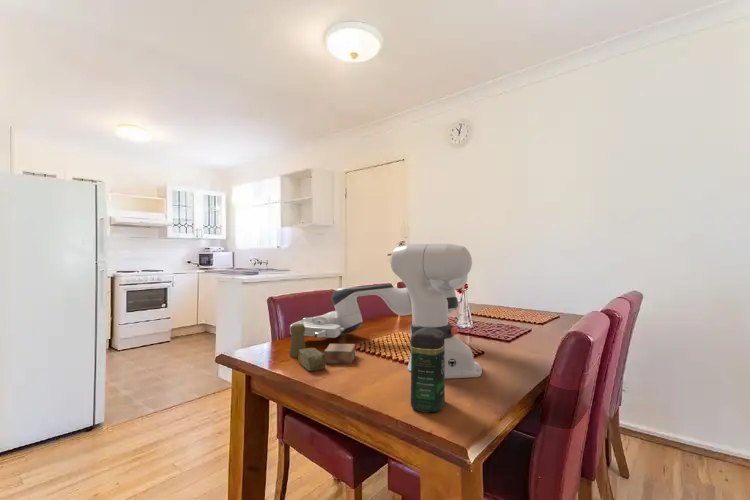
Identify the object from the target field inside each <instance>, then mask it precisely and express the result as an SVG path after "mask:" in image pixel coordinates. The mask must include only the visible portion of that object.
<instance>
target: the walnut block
mask: <svg viewBox="0 0 750 500" xmlns="http://www.w3.org/2000/svg"><path fill="white" fill-rule="evenodd" d="M323 354H324V356H325V364H343V365H345V364H350V365H351V364H352V363H353V361H354V359H355V357H356V343H329V344H328V346H327V347H326V348H325V349H324V351H323Z"/></svg>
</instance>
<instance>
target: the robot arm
mask: <svg viewBox="0 0 750 500" xmlns="http://www.w3.org/2000/svg"><path fill="white" fill-rule="evenodd" d="M389 264H390V267H391V270H392V272H393V273H394V274H395V276H397V277H398V278H399V279H400V280H401V281H402V282H403V283H404V285H405V287H403V288H402V287H401V288H399V287H394V286H393V285H392V284H390V283H383V284H372V285H371V284H370V285H364V286H356V287H354V286H353V287H350V286H345V287H344V286H343V287H339V288H337V289H335V290H333V293H332V295H331V298H330V299H331V302H332V305H333V306H334V309H335V310H332V311H329V312H327V313H324V314H322V315H316V316H309V317H308V316H307V317H303V318H302V320H298V321H296V322H293V323H291V324H290V325H289V328H290V327H291V326H292V325H293V324H303V325H304V326H305V332H304V337H305V336H306V337H314V338H315V339H327V338H328V339H329V338H330V339H335V338H337V337H339V336H341V334H342V335H344V334H345V335H346V334H349V333H352V332H354V331H357V330H358V329H360V327H361V326H362V325H363V322H364V321H363V316H362V314H361V313H362V312H361V310H360V306H359V304H358V299H357V298H358V297H363V296H373V295H375V296H377V297H380V298H381V299H382V300H383V301H384V303H385V304H386V305H387V307H388V308H389V309H390V310H391V311H392V312H393V313H394V314H396V315H398V316H408V315H412V316H411V321H412V322H411V323H410V336H411V335H412V334H413V333H414V332H416V331H417V330H419V329H422V328H423V327H433V328H439V329H440V330H441V331H442V332H443V333H444V341H445V380H446V379H463V378H466V379H467V378H479V377H481V376H482V374H483V370H482V366H481V364H479V362H477V361H475V357H474V355H473V354H474V353H473V351H472V349H471V348H470V347H469V345H467V344H466V343H464V342H463V341H462V340H461V339H460V338H458V337H457V336H456V335H457V334H458V332H459V331H458V328H457V327H455V326H454V325H453V324H451V323H449V314H451V313H453V312H454V311H456V310H457V309H458V307H459V301H458V297H457V295H456V290H459V289H461V288H463V287H464V286H465V285H466V284H467V281H468V277H469V276H468V275H469V273H470V272H471V270H472V267H473V266H472V265H473V261H472V255H471V253H470V251H469V249H467V247H466V246H463V245H458V244H453V243H409V244H404V245H400V246H397V247H395V248H394V249H393V250H392V253H391V254H390V258H389ZM289 334H290V335H292V333H291V332H290V331H289ZM408 360H409V361H408V364H407V370H408V371H410V372H411V354H410V355H409V359H408Z"/></svg>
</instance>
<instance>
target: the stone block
mask: <svg viewBox="0 0 750 500" xmlns="http://www.w3.org/2000/svg"><path fill="white" fill-rule="evenodd" d="M297 360H298V363H299V364H300V365H301V366H302V367H303V368H305V370H307V371H308V372H315V371H322V370H325V369H326V363H325V356H324V353H323V352H321V351H320V350H318V349H317V348H315V347H306V349H299V354H298V357H297Z"/></svg>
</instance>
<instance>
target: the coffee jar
mask: <svg viewBox="0 0 750 500" xmlns="http://www.w3.org/2000/svg"><path fill="white" fill-rule="evenodd" d="M410 355H411V371H410V406H411V407H412V409H415V410H417V411H420V412H423V413H430V412H431V413H432V412H439V411H441V410H442V408H443V407H444V405H445V402H446V401H445V399H446V398H445V397H446V395H445V393H446V390H445V387H446V386H445V385H446V384H445V380H446V379H445V341H444V333H443V332H442V331H441V330H440V329H439V328H433V327H423V328H422V329H419V330H417V331H416V332H414V333H413V334H412V335H411V334H410Z"/></svg>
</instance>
